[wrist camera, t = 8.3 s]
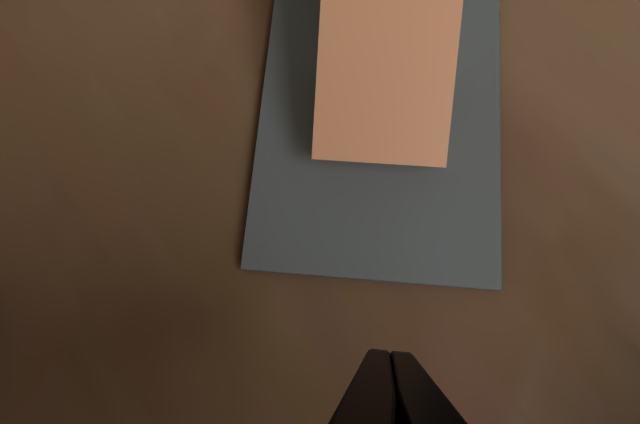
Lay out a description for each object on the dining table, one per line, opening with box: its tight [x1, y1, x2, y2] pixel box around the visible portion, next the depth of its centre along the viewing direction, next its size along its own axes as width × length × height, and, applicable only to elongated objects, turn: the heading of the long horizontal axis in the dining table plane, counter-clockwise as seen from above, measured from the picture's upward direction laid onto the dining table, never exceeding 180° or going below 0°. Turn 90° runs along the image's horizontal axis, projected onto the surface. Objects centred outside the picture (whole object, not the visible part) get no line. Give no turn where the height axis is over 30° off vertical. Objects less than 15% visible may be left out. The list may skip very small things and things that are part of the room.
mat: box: [240, 0, 502, 291], centre depth 20 cm, size 23×10×1 cm, turn 175°
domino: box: [312, 0, 463, 168], centre depth 17 cm, size 2×5×10 cm
